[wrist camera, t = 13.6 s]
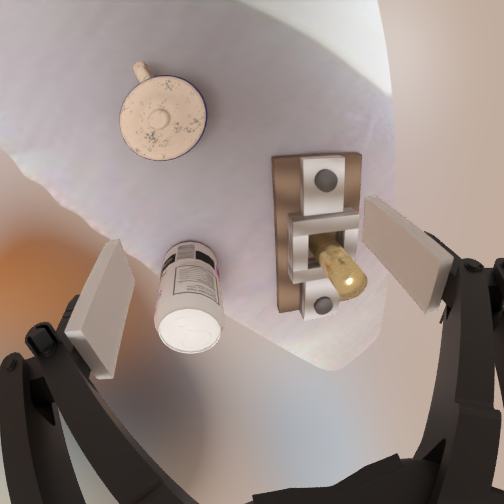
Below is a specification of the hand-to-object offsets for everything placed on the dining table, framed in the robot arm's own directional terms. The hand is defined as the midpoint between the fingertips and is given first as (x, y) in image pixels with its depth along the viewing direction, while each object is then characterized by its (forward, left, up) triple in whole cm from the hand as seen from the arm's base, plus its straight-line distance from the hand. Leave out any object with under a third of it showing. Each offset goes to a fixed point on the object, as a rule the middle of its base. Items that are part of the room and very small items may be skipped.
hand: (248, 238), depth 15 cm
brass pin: (+2, +20, -24) cm, 31 cm away
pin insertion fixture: (+2, +20, -26) cm, 33 cm away
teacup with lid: (-2, -9, -26) cm, 28 cm away
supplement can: (+16, +6, -26) cm, 31 cm away
